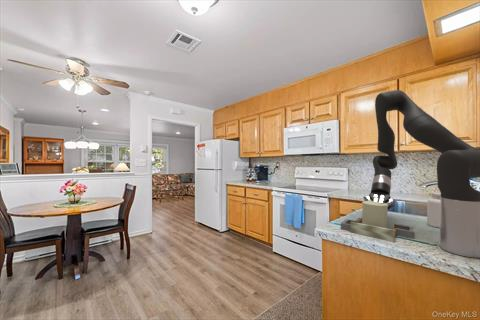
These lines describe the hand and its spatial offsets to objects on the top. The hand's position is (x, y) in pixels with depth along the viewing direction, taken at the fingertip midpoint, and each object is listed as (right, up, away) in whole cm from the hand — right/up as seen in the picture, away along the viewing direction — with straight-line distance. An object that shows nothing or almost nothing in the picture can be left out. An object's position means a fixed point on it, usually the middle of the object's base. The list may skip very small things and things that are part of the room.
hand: (376, 216), depth 90 cm
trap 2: (+6, -5, -7) cm, 10 cm away
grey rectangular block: (-3, -5, -4) cm, 7 cm away
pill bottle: (+31, -5, +3) cm, 31 cm away
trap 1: (-12, -5, -1) cm, 13 cm away
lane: (-4, -5, -4) cm, 7 cm away
